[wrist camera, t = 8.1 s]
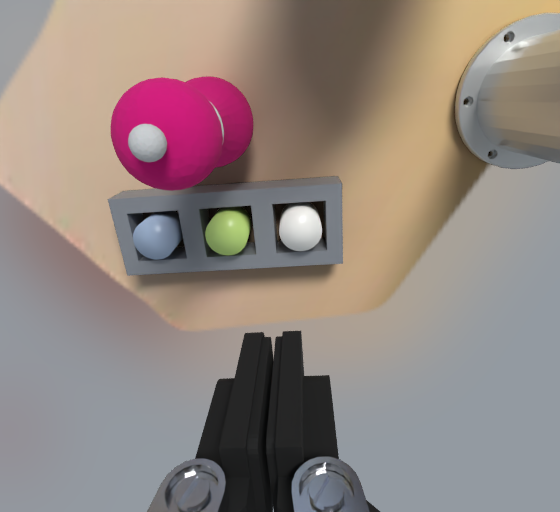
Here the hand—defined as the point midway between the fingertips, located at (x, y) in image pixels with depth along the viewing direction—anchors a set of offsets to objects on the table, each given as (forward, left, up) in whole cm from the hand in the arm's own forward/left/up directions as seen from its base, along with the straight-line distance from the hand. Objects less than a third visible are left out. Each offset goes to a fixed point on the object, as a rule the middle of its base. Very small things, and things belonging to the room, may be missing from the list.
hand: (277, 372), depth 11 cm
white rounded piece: (-1, +4, -28) cm, 28 cm away
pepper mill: (+6, -6, -29) cm, 30 cm away
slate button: (+13, +4, -28) cm, 31 cm away
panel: (+6, +4, -29) cm, 30 cm away
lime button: (+6, +4, -28) cm, 29 cm away
